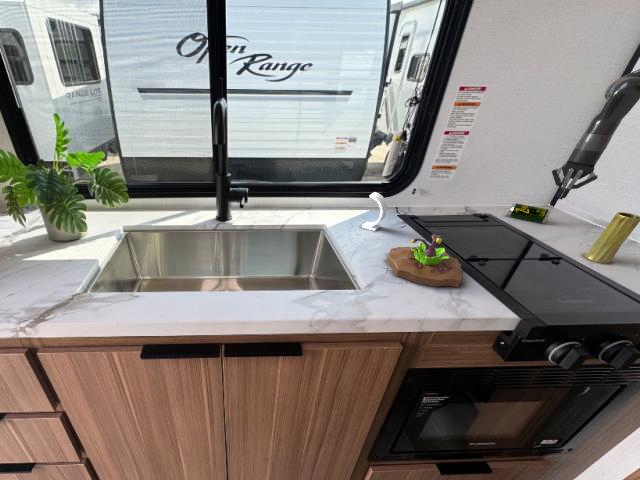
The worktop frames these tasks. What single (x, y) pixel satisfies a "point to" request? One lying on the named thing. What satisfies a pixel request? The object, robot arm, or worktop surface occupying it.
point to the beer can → (528, 213)
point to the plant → (426, 264)
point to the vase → (613, 237)
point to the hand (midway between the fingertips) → (559, 198)
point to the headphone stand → (383, 211)
